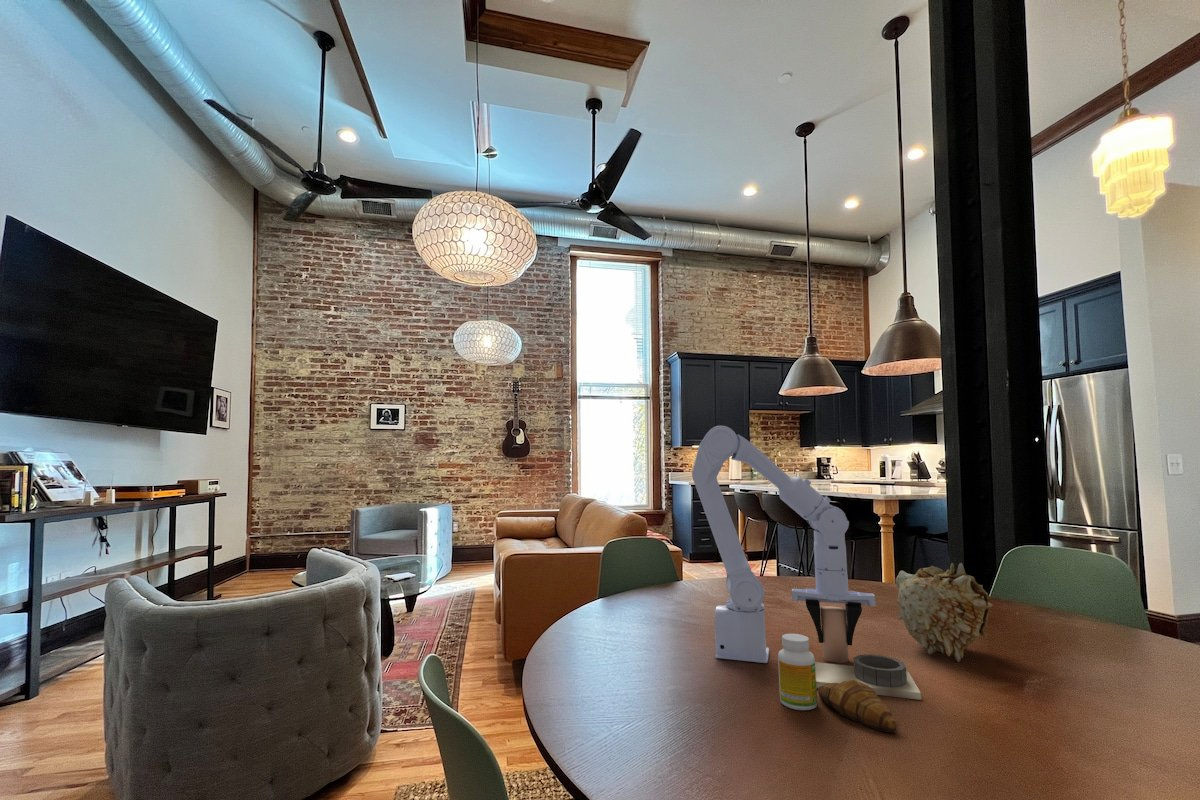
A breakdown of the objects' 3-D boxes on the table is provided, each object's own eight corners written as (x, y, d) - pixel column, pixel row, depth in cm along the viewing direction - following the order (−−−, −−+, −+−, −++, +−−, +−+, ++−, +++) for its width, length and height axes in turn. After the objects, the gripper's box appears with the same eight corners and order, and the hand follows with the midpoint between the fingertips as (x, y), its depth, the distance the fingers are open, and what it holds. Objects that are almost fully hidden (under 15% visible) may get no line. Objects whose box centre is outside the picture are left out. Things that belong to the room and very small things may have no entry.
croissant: (913, 732, 75) (911, 693, 76) (876, 741, 73) (873, 701, 73) (838, 695, 88) (836, 662, 88) (804, 701, 85) (803, 667, 86)
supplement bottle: (820, 712, 81) (816, 643, 82) (782, 709, 82) (779, 641, 83) (814, 697, 86) (810, 633, 87) (778, 695, 87) (775, 631, 88)
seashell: (982, 563, 99) (1006, 566, 108) (880, 556, 112) (909, 560, 122) (993, 671, 94) (1017, 665, 104) (885, 651, 108) (915, 647, 117)
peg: (823, 661, 102) (821, 611, 103) (822, 654, 106) (820, 605, 107) (849, 664, 100) (846, 612, 102) (847, 656, 105) (844, 607, 106)
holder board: (784, 684, 91) (783, 662, 92) (785, 664, 100) (784, 644, 101) (921, 699, 85) (919, 675, 85) (908, 677, 94) (907, 656, 94)
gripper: (790, 570, 104) (794, 645, 102) (875, 574, 99) (881, 653, 98) (790, 563, 110) (794, 634, 109) (870, 567, 106) (875, 641, 104)
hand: (834, 642), depth 104 cm, fingers closed on peg, 4 cm apart
